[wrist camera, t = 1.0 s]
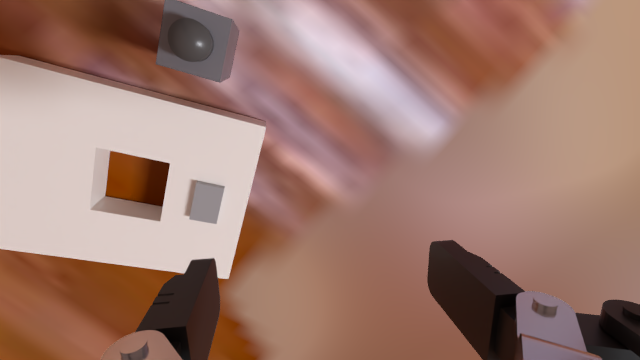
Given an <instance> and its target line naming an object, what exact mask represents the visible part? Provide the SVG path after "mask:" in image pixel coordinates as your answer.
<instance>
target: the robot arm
mask: <svg viewBox="0 0 640 360" xmlns="http://www.w3.org/2000/svg"><path fill="white" fill-rule="evenodd" d="M428 286H429V290H430V293H431V294H432V296H433V297H434V299H435V300H436V301H437V302H438V304H439V305H440V306H441V307H442V308H443V310H444V311H445V312H446V314H447V315H448V316H449V318H450V319H451V320H452V321H453V322H454V324H455V325H456V326H457V328H458V329H459V330H460V331H461V333H463V335H464V336H465V338H466V339H467V340H468V341H469V343H470V344H471V345H472V347H473V348H474V349H475V350H476V352H477V353H478V354H479V355H480V357H481V358H482V359H483V360H640V305H639V304H636V303H633V302H628V301H623V300H608V301H605V302H604V303H603V306H602V310H601V314H600V315H591V314H590V315H589V314H581V313H575V312H574V310H573V309H572V308H571V307H570V306H569V305H568V304H567V303H565V302H563V301H562V300H560V299H558V298H556V297H554V296H551V295H548V294H545V293H540V292H533V291H532V292H531V291H527V292H525V291H524V290H523V289H521V288H520V287H519V286H517V285H516V284H515V283H514V282H512V281H511V280H510V279H509V278H507V277H506V276H505V275H503V274H502V273H500V272H499V271H498V270H497V269H496V268H494V267H492V265H490V264H489V263H488V262H486V261H485V260H484V259H483V258H481V257H479V256H477V255H474V254H472V253H470V252H467V251H466V250H465V249H464V248H462V247H461V246H460V245H459V244H457V243H456V242H455V241H453V240H448V241H435V242H432V243H431V245H430V252H429V266H428ZM219 312H220V295H219V286H218V277H217V267H216V261H215V259H214V258H208V259H195V260H191V262H190V264H189V266H188V268H187V270H186V272H185V273H184V275H175V276H174V277H173V278H171V279H170V280H169V281H168V282H166V283H165V284H164V285H163V287H162V288H161V290H160V292H159V293H158V297H156V298H155V300H154V302H153V305H151V307H150V308H149V310H148V312H147V313H146V315H145V317H144V318H143V320H142V322H141V323H140V325H139V327H138V328H137V330H136V332H135V333H132V334H129V335H127V336H125V337H123V338H121V339H119V340H118V341H116V342H115V343H114V344H112V345H111V346H110V347H109V348H108V349H107V350H106V351H105V352H104V354H103V355H102V357H101V360H207V359H208V356H209V352H210V348H211V344H212V340H213V336H214V333H215V329H216V325H217V321H218V317H219Z"/></svg>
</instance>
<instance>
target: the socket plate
mask: <svg viewBox="0 0 640 360" xmlns="http://www.w3.org/2000/svg"><path fill="white" fill-rule="evenodd" d="M265 130H266V121H262V120H258V119H255V118H251V117H247V116H243V115H240V114H236V113H232V112H228V111H225V110H221V109H217V108H213V107H210V106H206V105H202V104H198V103H195V102H191V101H187V100H183V99H180V98H176V97H172V96H168V95H165V94H161V93H157V92H153V91H150V90H146V89H142V88H139V87H135V86H131V85H127V84H124V83H120V82H116V81H112V80H109V79H105V78H101V77H97V76H94V75H90V74H86V73H82V72H79V71H75V70H71V69H67V68H64V67H60V66H56V65H52V64H49V63H45V62H41V61H37V60H34V59H30V58H26V57H22V56H19V55H0V249H6V250H14V251H21V252H29V253H36V254H44V255H51V256H59V257H66V258H74V259H81V260H89V261H96V262H104V263H111V264H119V265H126V266H134V267H141V268H149V269H156V270H164V271H171V272H179V273H185V272H186V270H187V268H188V266H189V264H190V262H191V260H195V259H208V258H214V259H215V261H216V267H217V277H218V278H224V279H229V275H230V271H231V267H232V263H233V259H234V255H235V251H236V247H237V243H238V239H239V234H240V230H241V226H242V222H243V218H244V214H245V210H246V206H247V202H248V198H249V194H250V190H251V186H252V182H253V178H254V174H255V170H256V166H257V162H258V158H259V154H260V150H261V146H262V142H263V138H264V134H265ZM110 150H111V151H115V152H120V153H125V154H129V155H134V156H138V157H143V158H148V159H152V160H157V161H162V162H166V163H170V167H169V173H168V179H167V185H166V190H165V196H164V202H163V207H162V206H156V205H151V204H145V203H140V202H134V201H129V200H123V199H118V198H112V197H107V196H105V193H106V184H107V175H108V165H109V156H110Z"/></svg>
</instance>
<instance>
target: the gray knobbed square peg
mask: <svg viewBox="0 0 640 360" xmlns="http://www.w3.org/2000/svg"><path fill="white" fill-rule="evenodd" d="M238 36H239V30H238V28H237V26H236V25H235V23H234V21H233V20H232V19H229V18H226V17H223V16H220V15H218V14H215V13H212V12H209V11H206V10H203V9H200V8H197V7H194V6H191V5H188V4H185V3H182V2H179V1H177V0H165V3H164V10H163V17H162V24H161V31H160V38H159V45H158V52H157V59H156V64H157V65H161V66H164V67H168V68H171V69H175V70H178V71H182V72H185V73H189V74H192V75H196V76H199V77H202V78H206V79H209V80H213V81H216V82H222V81H224V80H226V79H228V78H230V74H231V70H232V65H233V60H234V55H235V50H236V45H237V40H238Z"/></svg>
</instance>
